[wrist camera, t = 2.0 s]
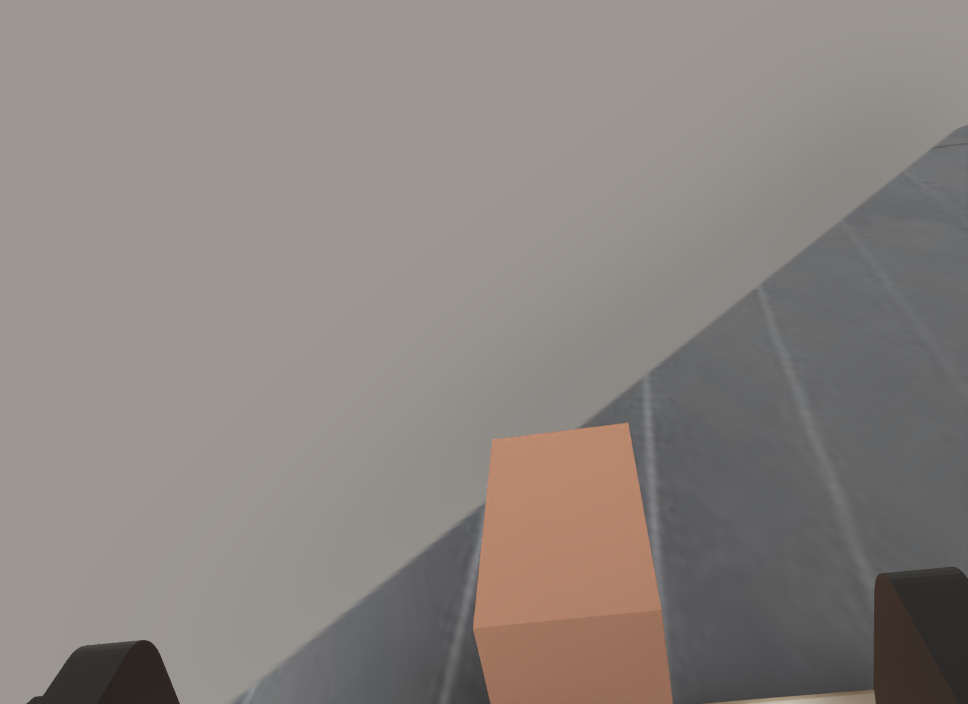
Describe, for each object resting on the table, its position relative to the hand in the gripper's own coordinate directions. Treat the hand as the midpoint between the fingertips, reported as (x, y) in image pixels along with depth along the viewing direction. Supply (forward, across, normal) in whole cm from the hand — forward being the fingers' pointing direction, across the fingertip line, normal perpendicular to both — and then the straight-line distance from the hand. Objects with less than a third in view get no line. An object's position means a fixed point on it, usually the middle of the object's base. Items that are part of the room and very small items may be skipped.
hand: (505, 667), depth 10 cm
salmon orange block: (+11, 0, +20) cm, 23 cm away
